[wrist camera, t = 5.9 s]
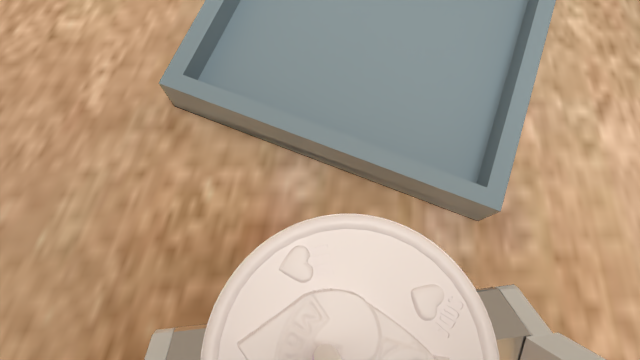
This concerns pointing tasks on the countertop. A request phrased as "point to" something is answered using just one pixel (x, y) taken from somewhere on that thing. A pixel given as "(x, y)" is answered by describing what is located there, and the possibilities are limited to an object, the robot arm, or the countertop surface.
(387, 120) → the tray
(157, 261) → the countertop surface
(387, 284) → the smoothie
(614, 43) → the countertop surface
